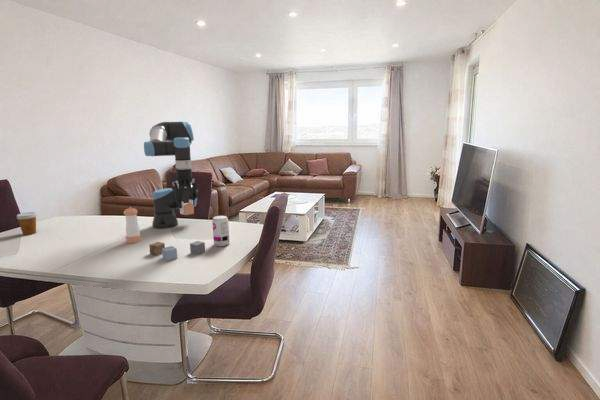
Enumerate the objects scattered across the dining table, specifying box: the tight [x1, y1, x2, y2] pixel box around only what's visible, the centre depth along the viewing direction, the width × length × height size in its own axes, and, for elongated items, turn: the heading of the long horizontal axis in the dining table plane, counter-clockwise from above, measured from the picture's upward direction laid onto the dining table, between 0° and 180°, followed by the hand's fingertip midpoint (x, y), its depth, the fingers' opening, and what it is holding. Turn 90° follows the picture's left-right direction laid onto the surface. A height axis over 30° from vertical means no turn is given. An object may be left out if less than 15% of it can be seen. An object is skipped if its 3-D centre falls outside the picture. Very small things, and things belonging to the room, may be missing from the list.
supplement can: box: [211, 215, 230, 247], centre depth 186 cm, size 8×8×15 cm
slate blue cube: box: [161, 245, 178, 262], centre depth 168 cm, size 5×5×5 cm
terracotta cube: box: [182, 203, 195, 216], centre depth 183 cm, size 5×5×5 cm
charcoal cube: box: [189, 240, 206, 256], centre depth 175 cm, size 5×5×5 cm
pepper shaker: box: [123, 206, 142, 244], centre depth 192 cm, size 7×7×19 cm
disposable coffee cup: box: [16, 211, 37, 236], centre depth 208 cm, size 10×10×12 cm
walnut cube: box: [148, 241, 166, 257], centre depth 175 cm, size 5×5×5 cm
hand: (187, 212), depth 183 cm, fingers closed on terracotta cube, 5 cm apart
